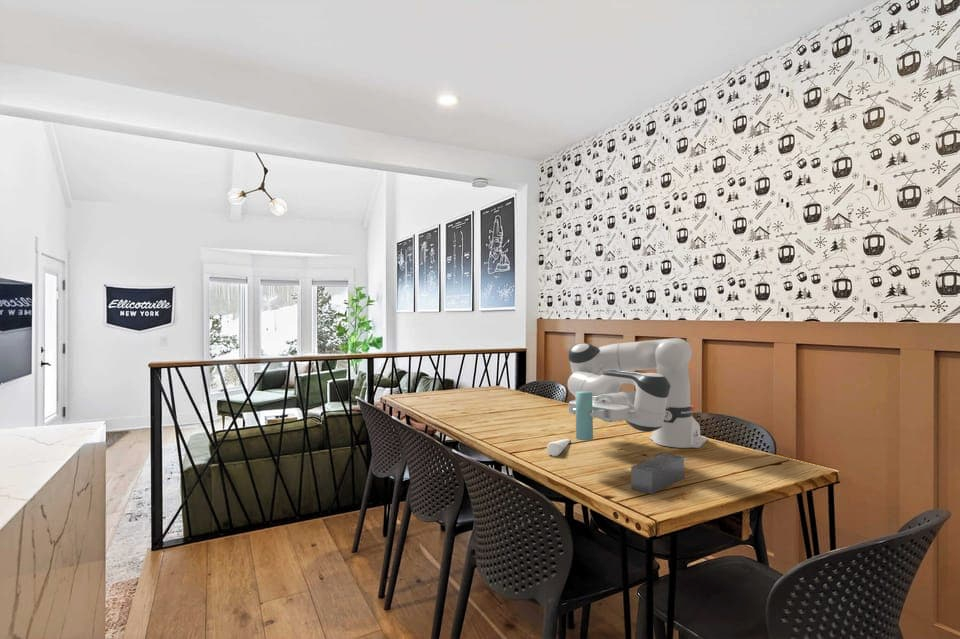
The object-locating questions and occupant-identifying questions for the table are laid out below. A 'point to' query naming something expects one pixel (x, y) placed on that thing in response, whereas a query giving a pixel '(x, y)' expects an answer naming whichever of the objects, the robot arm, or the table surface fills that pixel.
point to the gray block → (657, 473)
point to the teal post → (584, 415)
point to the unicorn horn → (557, 447)
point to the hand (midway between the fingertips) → (582, 413)
